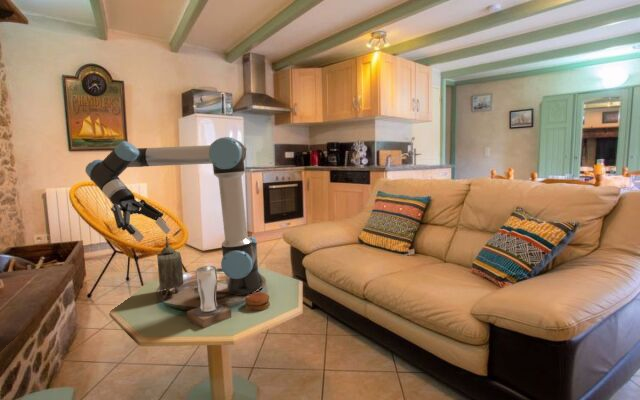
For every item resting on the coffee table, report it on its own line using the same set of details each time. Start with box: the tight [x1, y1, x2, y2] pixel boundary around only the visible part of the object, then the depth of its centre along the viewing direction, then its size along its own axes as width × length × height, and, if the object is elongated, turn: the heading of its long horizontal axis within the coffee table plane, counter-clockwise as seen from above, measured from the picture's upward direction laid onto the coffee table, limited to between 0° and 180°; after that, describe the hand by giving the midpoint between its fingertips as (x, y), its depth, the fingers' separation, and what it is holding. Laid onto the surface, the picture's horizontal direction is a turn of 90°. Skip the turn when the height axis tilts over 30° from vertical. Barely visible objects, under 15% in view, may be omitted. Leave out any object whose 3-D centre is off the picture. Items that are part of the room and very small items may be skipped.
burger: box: [244, 291, 271, 311], centre depth 138 cm, size 10×9×5 cm
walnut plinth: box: [186, 302, 232, 329], centre depth 129 cm, size 11×11×3 cm
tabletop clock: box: [156, 236, 184, 299], centre depth 153 cm, size 14×9×25 cm, turn 25°
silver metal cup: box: [195, 265, 218, 313], centre depth 128 cm, size 7×7×15 cm
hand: (155, 235), depth 131 cm, fingers open, 13 cm apart
